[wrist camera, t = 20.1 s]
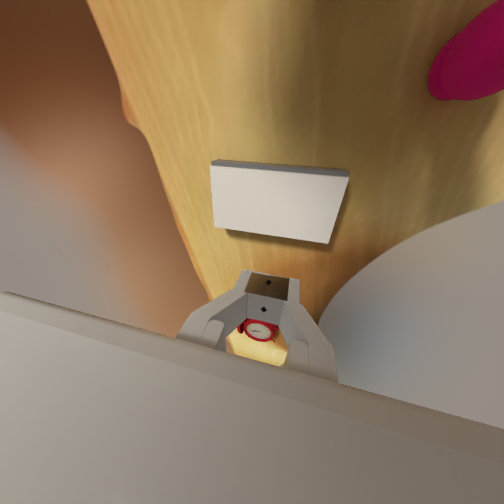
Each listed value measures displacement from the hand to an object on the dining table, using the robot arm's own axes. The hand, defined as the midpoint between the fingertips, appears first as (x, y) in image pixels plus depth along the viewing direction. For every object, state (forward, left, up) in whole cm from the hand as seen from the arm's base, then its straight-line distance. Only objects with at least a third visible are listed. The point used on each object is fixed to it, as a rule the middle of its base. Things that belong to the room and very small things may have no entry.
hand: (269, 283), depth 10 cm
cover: (+4, -3, -24) cm, 24 cm away
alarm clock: (+42, -5, -28) cm, 51 cm away
